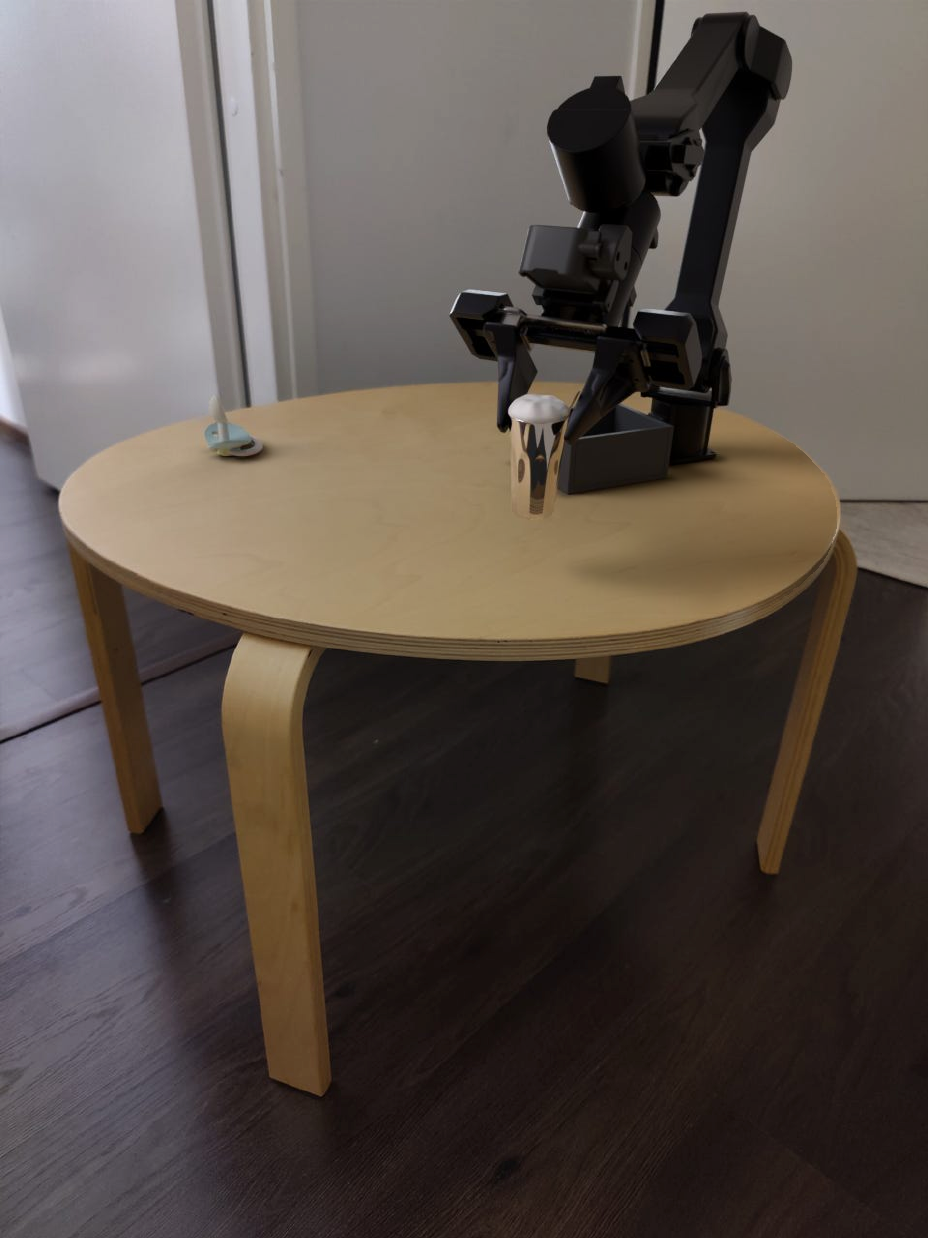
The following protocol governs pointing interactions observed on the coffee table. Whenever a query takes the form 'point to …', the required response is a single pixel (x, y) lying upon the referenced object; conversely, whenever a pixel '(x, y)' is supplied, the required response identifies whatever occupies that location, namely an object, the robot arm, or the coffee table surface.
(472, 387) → the coffee table surface
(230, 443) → the pacifier
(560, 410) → the milkshake
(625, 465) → the bin
